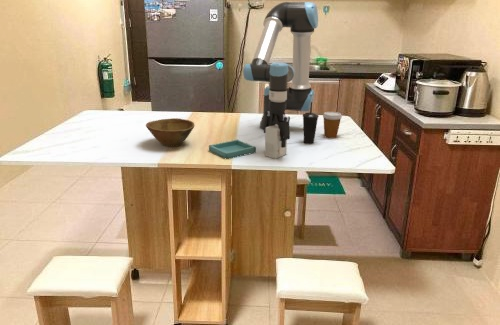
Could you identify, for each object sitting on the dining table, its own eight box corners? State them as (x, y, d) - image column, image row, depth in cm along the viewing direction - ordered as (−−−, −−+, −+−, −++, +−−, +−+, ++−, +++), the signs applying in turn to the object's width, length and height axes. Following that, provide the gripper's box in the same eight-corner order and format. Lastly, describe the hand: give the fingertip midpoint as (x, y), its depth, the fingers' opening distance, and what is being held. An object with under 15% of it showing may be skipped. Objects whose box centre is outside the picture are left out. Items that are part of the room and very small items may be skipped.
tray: (208, 150, 184) (208, 145, 184) (237, 144, 194) (237, 139, 193) (226, 159, 174) (226, 153, 173) (255, 152, 183) (255, 146, 183)
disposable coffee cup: (339, 139, 205) (342, 116, 200) (320, 138, 206) (322, 115, 202) (339, 134, 213) (342, 112, 209) (321, 133, 215) (323, 111, 211)
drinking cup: (317, 141, 201) (320, 101, 195) (315, 145, 195) (318, 104, 188) (302, 139, 204) (305, 100, 197) (299, 143, 197) (301, 102, 190)
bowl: (155, 154, 179) (153, 132, 176) (142, 140, 198) (141, 120, 195) (201, 147, 189) (201, 127, 185) (185, 135, 208) (184, 116, 204)
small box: (275, 151, 185) (276, 123, 181) (286, 154, 181) (288, 126, 177) (264, 155, 179) (265, 127, 175) (275, 158, 176) (277, 129, 171)
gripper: (256, 97, 177) (255, 147, 185) (287, 105, 162) (284, 159, 170) (269, 95, 182) (267, 144, 189) (300, 103, 167) (297, 156, 175)
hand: (275, 151), depth 180 cm, fingers closed on small box, 7 cm apart
